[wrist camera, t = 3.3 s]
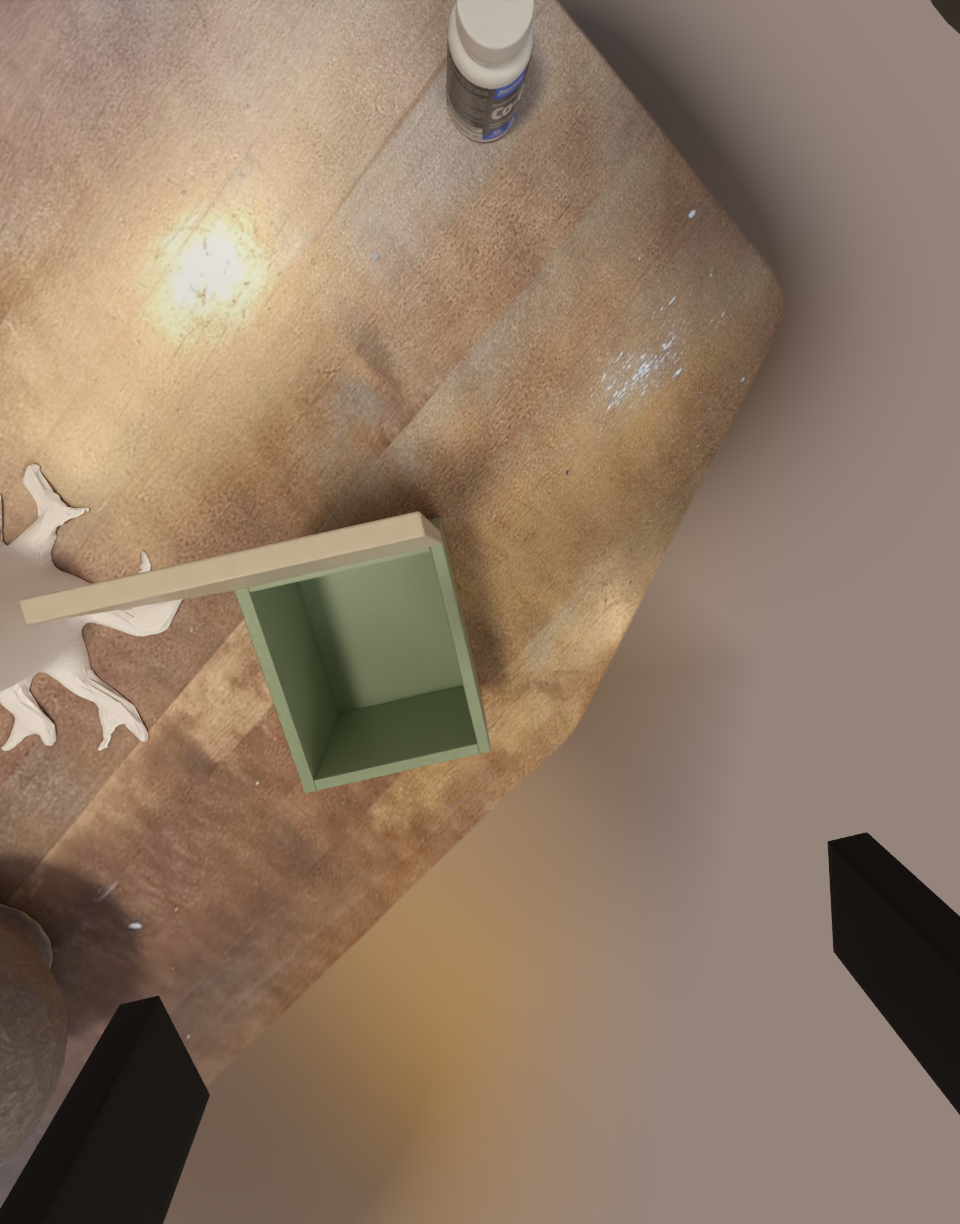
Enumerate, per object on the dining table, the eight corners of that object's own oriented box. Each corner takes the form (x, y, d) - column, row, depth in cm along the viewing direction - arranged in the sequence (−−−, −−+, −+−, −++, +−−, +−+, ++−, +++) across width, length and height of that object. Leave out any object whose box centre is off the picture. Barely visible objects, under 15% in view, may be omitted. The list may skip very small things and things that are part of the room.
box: (480, 686, 47) (491, 751, 37) (334, 719, 47) (304, 793, 37) (441, 516, 43) (441, 536, 33) (281, 551, 43) (231, 582, 33)
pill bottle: (496, 160, 37) (512, 79, 29) (433, 116, 36) (431, 20, 28) (532, 85, 36) (559, -19, 28) (468, 38, 35) (477, -84, 27)
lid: (425, 535, 17) (419, 510, 17) (24, 625, 17) (16, 599, 17) (442, 544, 33) (439, 530, 33) (230, 591, 33) (226, 577, 32)
